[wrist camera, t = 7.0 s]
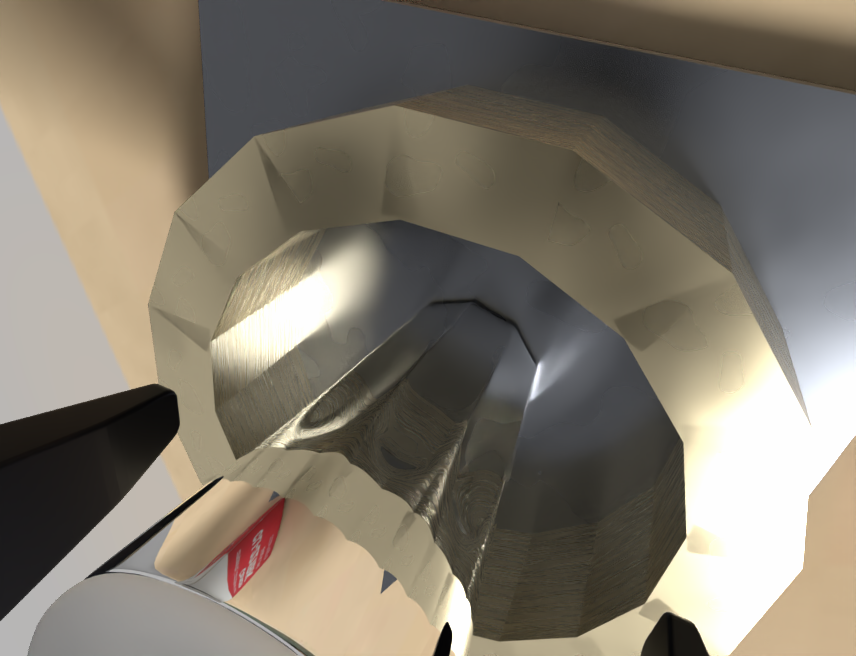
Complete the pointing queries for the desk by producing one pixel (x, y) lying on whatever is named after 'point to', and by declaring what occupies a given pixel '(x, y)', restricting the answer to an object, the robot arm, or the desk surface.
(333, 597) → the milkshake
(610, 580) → the collar station
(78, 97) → the desk surface
